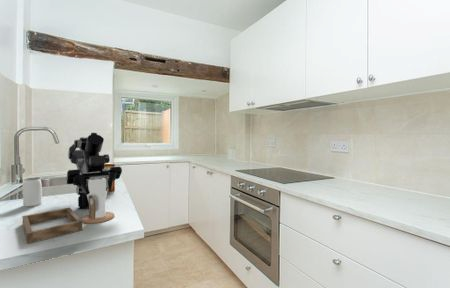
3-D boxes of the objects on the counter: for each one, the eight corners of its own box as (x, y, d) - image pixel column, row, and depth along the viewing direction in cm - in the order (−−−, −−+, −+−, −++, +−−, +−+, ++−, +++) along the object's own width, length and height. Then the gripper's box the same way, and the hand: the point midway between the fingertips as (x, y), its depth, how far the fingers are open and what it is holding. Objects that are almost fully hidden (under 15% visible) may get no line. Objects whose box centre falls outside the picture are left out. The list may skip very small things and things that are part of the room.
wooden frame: (69, 214, 90) (69, 207, 90) (82, 229, 76) (82, 221, 76) (22, 224, 80) (22, 216, 80) (27, 243, 66) (27, 233, 66)
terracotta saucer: (114, 211, 94) (114, 210, 94) (114, 220, 84) (114, 219, 84) (83, 215, 89) (83, 214, 89) (79, 225, 79) (79, 223, 79)
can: (20, 205, 101) (19, 179, 100) (37, 201, 106) (37, 176, 106) (27, 207, 98) (26, 180, 97) (44, 204, 103) (44, 178, 103)
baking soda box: (96, 193, 122) (95, 164, 122) (93, 191, 127) (92, 163, 126) (114, 191, 129) (114, 163, 128) (111, 189, 134) (110, 162, 133)
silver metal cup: (105, 212, 91) (105, 175, 91) (109, 217, 86) (109, 178, 86) (85, 216, 87) (84, 177, 86) (88, 221, 82) (88, 180, 81)
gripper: (66, 148, 82) (71, 183, 75) (120, 147, 95) (129, 177, 87) (64, 167, 89) (68, 201, 81) (115, 163, 101) (123, 193, 93)
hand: (99, 192), depth 85 cm, fingers open, 8 cm apart
